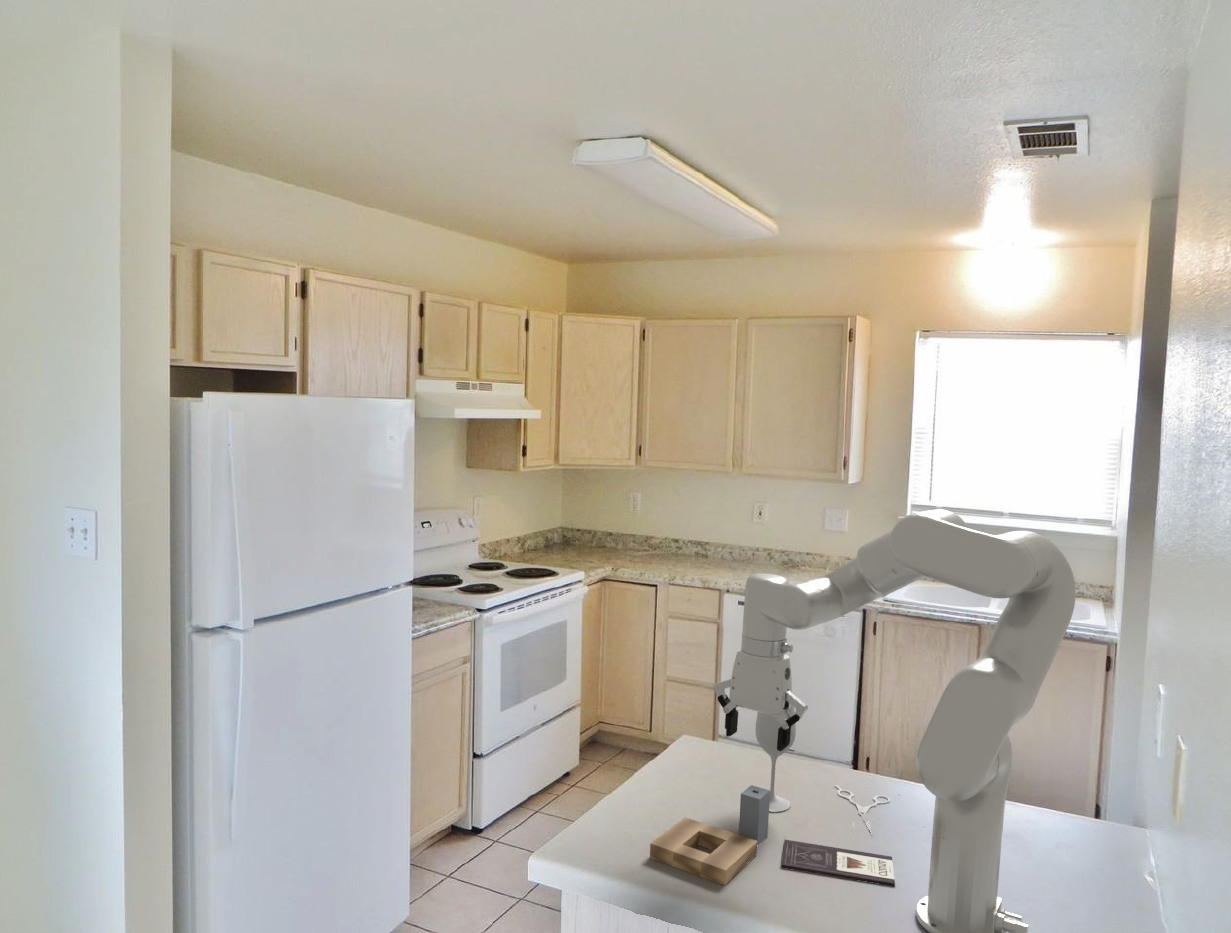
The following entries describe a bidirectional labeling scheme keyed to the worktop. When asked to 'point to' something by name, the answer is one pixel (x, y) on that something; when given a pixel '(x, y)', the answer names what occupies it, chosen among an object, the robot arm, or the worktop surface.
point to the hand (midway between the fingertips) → (756, 741)
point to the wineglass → (773, 750)
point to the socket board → (715, 866)
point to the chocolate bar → (838, 862)
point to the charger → (754, 813)
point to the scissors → (860, 808)
